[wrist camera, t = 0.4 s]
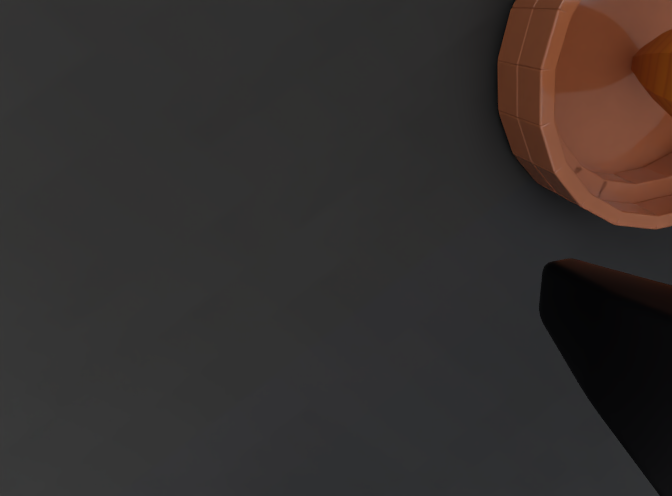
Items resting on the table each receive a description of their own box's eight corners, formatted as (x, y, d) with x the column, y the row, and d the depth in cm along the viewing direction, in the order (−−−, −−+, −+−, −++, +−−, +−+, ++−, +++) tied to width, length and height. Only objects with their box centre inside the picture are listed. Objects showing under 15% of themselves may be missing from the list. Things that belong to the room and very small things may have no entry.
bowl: (737, 172, 27) (807, 195, 24) (496, 225, 25) (538, 257, 22) (787, -132, 22) (884, -153, 19) (490, -91, 20) (542, -107, 17)
